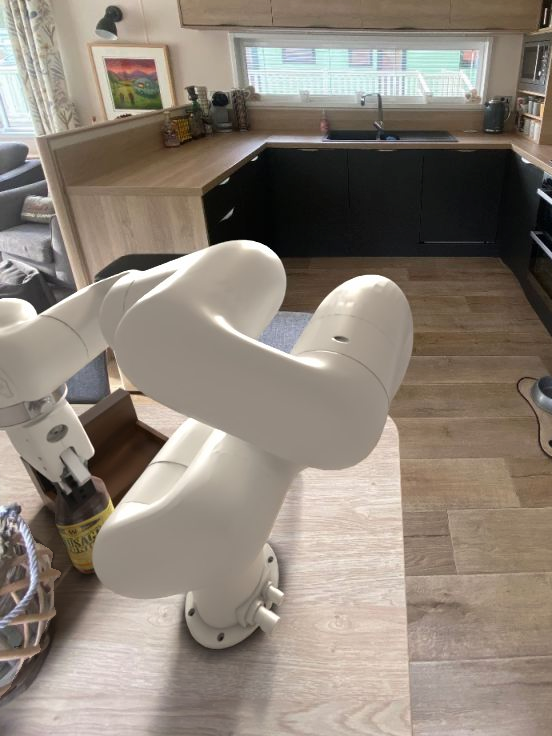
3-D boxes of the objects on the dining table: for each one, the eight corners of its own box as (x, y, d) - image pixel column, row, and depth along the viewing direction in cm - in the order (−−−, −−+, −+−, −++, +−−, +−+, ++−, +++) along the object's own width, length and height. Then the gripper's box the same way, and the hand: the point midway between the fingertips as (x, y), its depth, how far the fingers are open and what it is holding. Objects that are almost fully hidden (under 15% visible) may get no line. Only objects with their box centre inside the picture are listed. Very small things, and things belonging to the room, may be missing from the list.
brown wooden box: (174, 455, 75) (160, 410, 70) (85, 540, 62) (61, 491, 57) (134, 431, 80) (119, 387, 75) (44, 504, 67) (19, 456, 62)
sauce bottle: (67, 581, 57) (19, 493, 49) (88, 534, 63) (48, 449, 55) (117, 571, 58) (77, 483, 50) (133, 526, 64) (99, 441, 56)
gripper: (99, 398, 47) (135, 495, 54) (25, 354, 54) (66, 445, 61) (24, 449, 41) (76, 551, 48) (-48, 392, 48) (7, 488, 55)
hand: (70, 490), depth 54 cm, fingers open, 5 cm apart
